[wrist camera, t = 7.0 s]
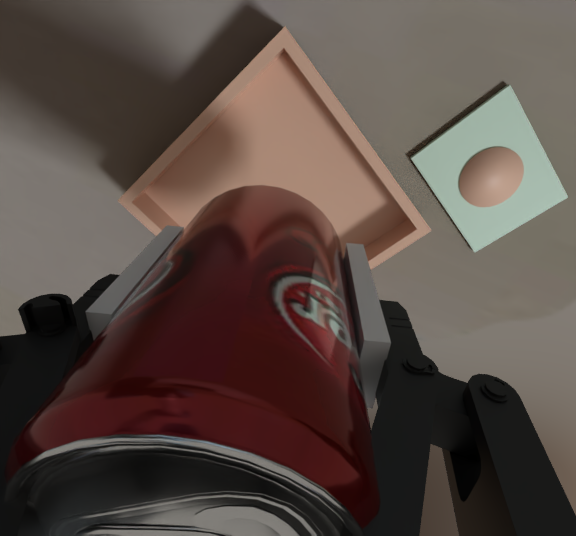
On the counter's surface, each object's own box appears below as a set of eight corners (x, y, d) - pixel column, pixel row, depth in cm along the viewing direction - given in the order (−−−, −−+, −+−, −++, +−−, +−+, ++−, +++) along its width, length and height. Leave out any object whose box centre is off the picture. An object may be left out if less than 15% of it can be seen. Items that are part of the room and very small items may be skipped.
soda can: (350, 184, 15) (433, 444, 5) (334, 322, 19) (362, 648, 8) (179, 176, 15) (-107, 404, 5) (196, 314, 19) (51, 618, 8)
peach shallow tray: (135, 188, 24) (117, 200, 21) (288, 30, 19) (285, 26, 17) (269, 316, 28) (266, 337, 26) (420, 215, 23) (431, 230, 21)
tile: (409, 157, 22) (411, 158, 21) (507, 84, 19) (511, 84, 19) (473, 250, 24) (475, 253, 24) (565, 195, 22) (569, 197, 22)
